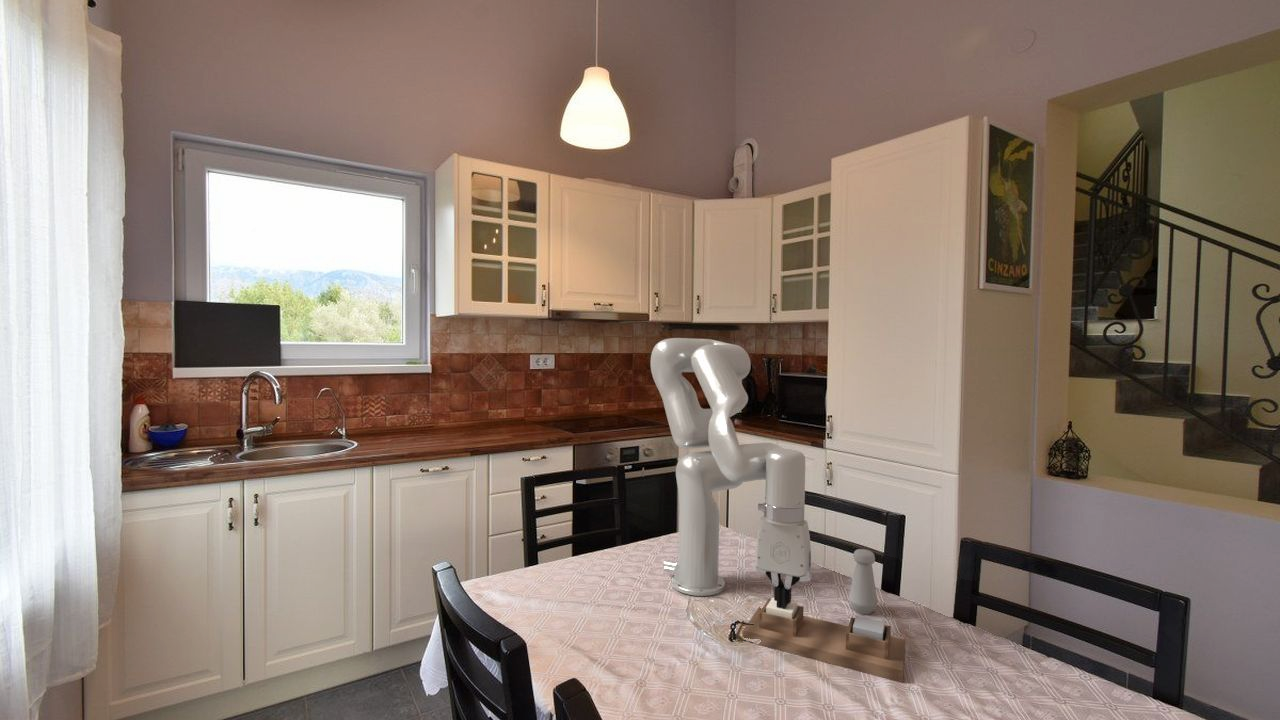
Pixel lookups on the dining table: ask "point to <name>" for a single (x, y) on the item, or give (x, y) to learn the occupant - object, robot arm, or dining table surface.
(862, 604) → the salt shaker
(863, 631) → the grey key
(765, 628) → the key panel
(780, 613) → the cream key
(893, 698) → the dining table surface
